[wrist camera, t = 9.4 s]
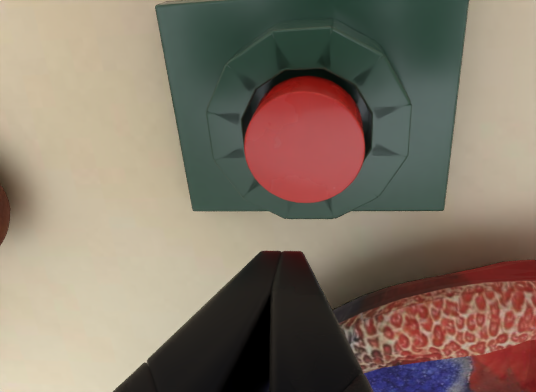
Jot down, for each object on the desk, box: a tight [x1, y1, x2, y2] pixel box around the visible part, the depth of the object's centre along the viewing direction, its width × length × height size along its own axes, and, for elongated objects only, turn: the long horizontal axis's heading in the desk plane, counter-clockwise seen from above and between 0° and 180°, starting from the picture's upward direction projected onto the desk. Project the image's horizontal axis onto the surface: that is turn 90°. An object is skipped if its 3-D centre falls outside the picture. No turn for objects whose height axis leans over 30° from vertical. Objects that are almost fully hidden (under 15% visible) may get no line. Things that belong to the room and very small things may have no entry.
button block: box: [155, 0, 469, 219], centre depth 16 cm, size 10×8×3 cm
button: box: [244, 76, 365, 203], centre depth 14 cm, size 4×4×2 cm
